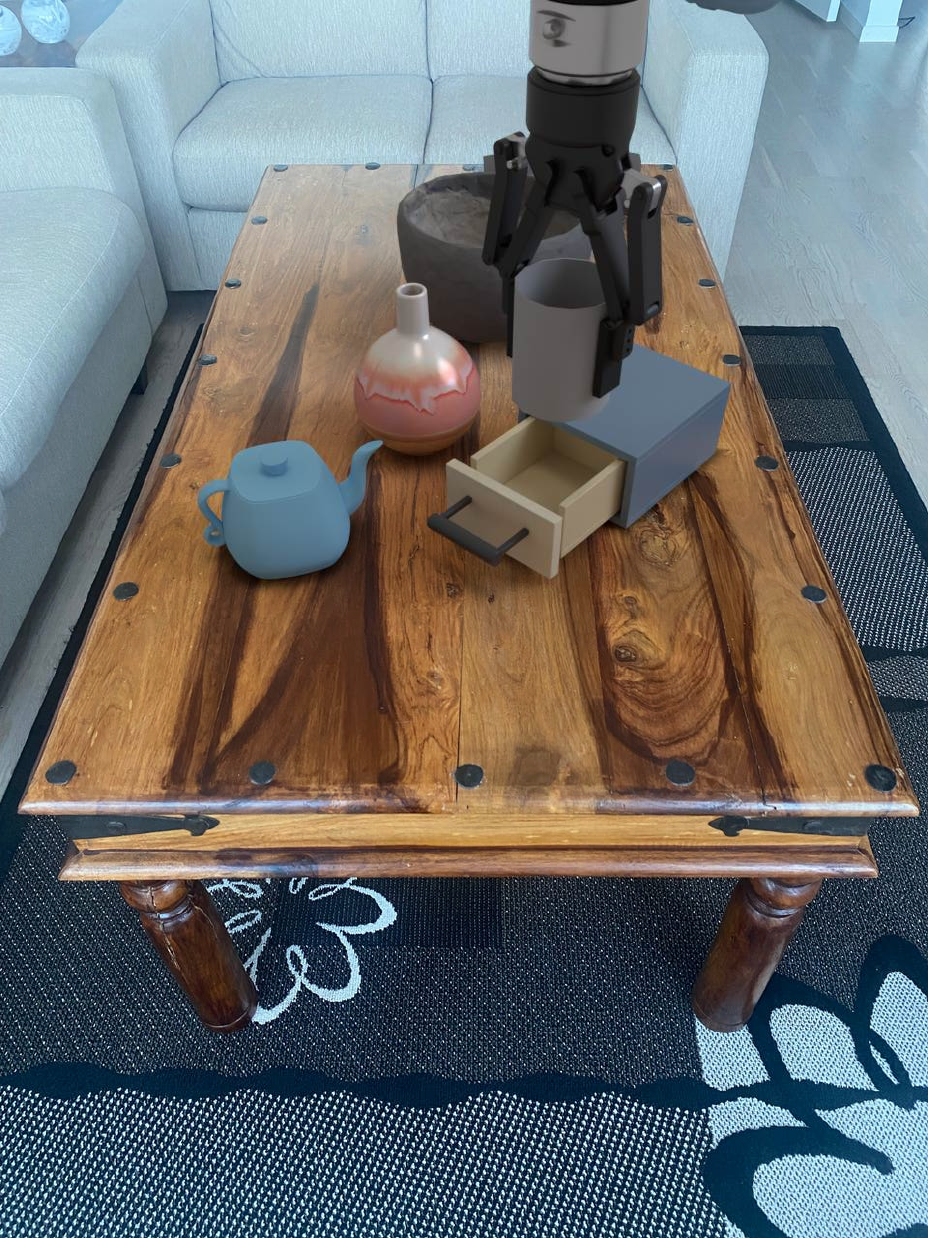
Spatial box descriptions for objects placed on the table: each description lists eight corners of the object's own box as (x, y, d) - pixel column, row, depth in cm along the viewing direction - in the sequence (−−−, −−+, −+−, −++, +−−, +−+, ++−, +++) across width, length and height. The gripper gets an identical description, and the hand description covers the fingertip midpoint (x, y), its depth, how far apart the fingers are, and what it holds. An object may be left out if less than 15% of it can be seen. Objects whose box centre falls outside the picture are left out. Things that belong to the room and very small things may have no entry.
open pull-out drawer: (512, 611, 83) (514, 555, 78) (409, 546, 89) (405, 490, 84) (645, 499, 94) (655, 443, 89) (545, 448, 100) (548, 393, 95)
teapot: (397, 475, 81) (190, 514, 78) (404, 564, 89) (216, 602, 86) (367, 398, 89) (179, 430, 86) (376, 485, 97) (204, 517, 94)
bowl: (449, 263, 132) (446, 152, 121) (611, 296, 124) (624, 182, 113) (365, 345, 117) (353, 227, 106) (544, 388, 109) (551, 267, 98)
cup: (613, 422, 76) (627, 309, 68) (513, 422, 76) (516, 310, 69) (603, 366, 82) (616, 257, 74) (510, 366, 82) (514, 257, 74)
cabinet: (625, 529, 92) (636, 458, 86) (516, 471, 99) (518, 400, 92) (715, 452, 100) (731, 382, 94) (609, 403, 107) (617, 335, 101)
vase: (342, 421, 105) (322, 273, 92) (451, 392, 109) (447, 247, 96) (384, 489, 97) (369, 337, 84) (501, 456, 100) (504, 305, 88)
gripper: (428, 48, 64) (438, 344, 80) (691, 119, 54) (640, 439, 70) (499, 24, 67) (495, 311, 84) (756, 86, 57) (694, 398, 74)
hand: (561, 369), depth 77 cm, fingers closed on cup, 8 cm apart
